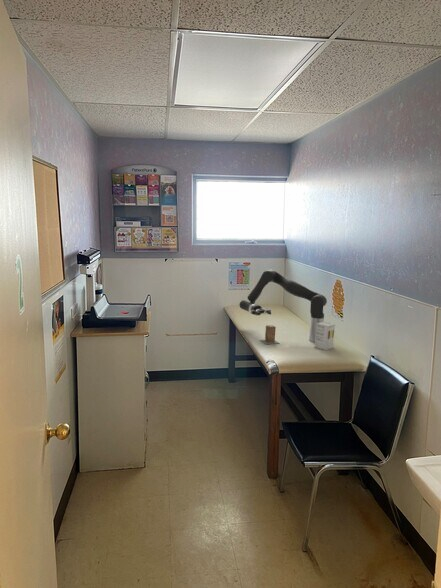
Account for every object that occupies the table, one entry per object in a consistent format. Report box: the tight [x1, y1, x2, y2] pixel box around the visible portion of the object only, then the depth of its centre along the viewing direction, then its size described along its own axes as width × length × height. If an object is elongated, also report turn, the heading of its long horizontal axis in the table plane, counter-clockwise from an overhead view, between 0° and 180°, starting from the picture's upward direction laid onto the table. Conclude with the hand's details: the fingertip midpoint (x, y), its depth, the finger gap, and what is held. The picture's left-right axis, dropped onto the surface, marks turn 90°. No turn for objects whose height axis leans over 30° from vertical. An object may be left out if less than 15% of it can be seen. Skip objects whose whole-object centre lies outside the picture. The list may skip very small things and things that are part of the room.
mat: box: [260, 339, 280, 345], centre depth 306 cm, size 10×10×1 cm
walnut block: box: [264, 324, 276, 343], centre depth 305 cm, size 5×5×11 cm
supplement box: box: [314, 321, 336, 351], centre depth 297 cm, size 10×9×17 cm
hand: (265, 313), depth 312 cm, fingers open, 8 cm apart
